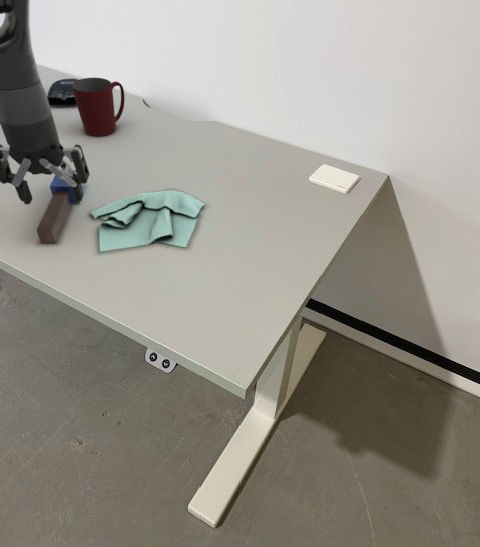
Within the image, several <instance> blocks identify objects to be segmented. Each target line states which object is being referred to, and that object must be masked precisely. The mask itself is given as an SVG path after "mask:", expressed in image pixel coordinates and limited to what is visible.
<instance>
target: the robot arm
mask: <svg viewBox="0 0 480 547" xmlns="http://www.w3.org/2000/svg"><path fill="white" fill-rule="evenodd" d="M30 3H31V2H30V0H0V15H2V14H3V15H4V19H3V22H2V24H1V26H0V127H1V130H2V132H3V136H4V138H5V141H6V143H7V145H8V146H9V147H7V146H6V147H5V146H3V145H2V144H0V183H1V184H3V185H6V184H11V185H12V186H13V187H14V188H15V190H16V193H17V196H18V199H19V200H20V202H23V204H24V205H30V204H31V203H32V201H33V195H32V192H31V190H30V187H29V184H28V181H27V180H25V179H24V178H25V177H26V175H27V173H31V174H32V175H33V176H34V175H35V176H36V175H37V176H38V175H41V174H43V175H49V176H51V175H52V174H53V175H54V176H55V175H56V176H57V177H58V178H59V179H63V180H64V181H66V182H67V183H68V184H69V185H70V190H71V194H72V197H73V201H74V204H73V205H80V203H81V202H82V201H83V198H84V191H83V188H82V187H83V186H82V187H81V184H82V185H86V184H87V183H88V180H89V177H90V176H91V173H90V170H89V166H88V163H87V160H86V157H85V153H84V151H83V147H82V146H81V145H80V144H75V145H74V146H73V147H64V146H63V145H62V144H61V142H60V138H59V134H58V130H57V126H56V122H55V120H54V119H55V118H54V117H53V113H52V108H51V107H50V105H49V101H48V98H47V95H48V94H47V92H46V90H45V87H44V84H43V82H42V79H41V76H40V73H39V70H38V65H37V63H36V59H35V55H34V51H33V45H32V38H31V24H30ZM64 157H66V158H68V160H69V161H70V163H73V165H74V168H75V169H73V168H72V167H71V164H70V163H68V161H67V160H65V159H64ZM9 158H11V159H12V160H13V161H15V162H16V163H17V164H18V165H19V167H18V168H17V171H16V173H13V172H12V169H11V166H10V162H9ZM74 170H76V172H77V173H76V172H75V171H74Z"/></svg>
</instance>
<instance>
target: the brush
mask: <svg viewBox="0 0 480 547" xmlns="http://www.w3.org/2000/svg"><path fill="white" fill-rule="evenodd" d="M73 170H74V171H75V172H76V169H73ZM76 173H77V172H76ZM81 187H82V189H83V188H84V187H83V184H81ZM49 189H50V192H51V196H52V197H51V199H50V200H49V202H48V205H47V207H46V209H45V211H44V213H43V215H42V217H41V219H40V221H39V224H38V226H37V227H36V233H37V236H38V239H39V243H40V244H44V245H47V244H49V245H50V244H51V245H54V244H57V241H58V239H59V236H60V234H61V231H62V229H63V227H64V224H65V222H66V219H67V217H68V215H69V213H70V211H71V207H72V205H75V204H74V201H73V197H72V194H71V190H70V185H69V184H68V183H67V182H66V181H64V180H63V179H59V178H58V177H57V176H56V175H55V174H54V176H53V178H52V181H51V183H50V185H49Z"/></svg>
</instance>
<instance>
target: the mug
mask: <svg viewBox="0 0 480 547" xmlns="http://www.w3.org/2000/svg"><path fill="white" fill-rule="evenodd" d="M115 87H119V89H120V90H119V91H120V104H119V108H118V111H117V114H115V102H114V92H113V90H114V88H115ZM72 89H73V93H74V97H75V100H76V107H77V111H78V112H79V113H78V114H79V116H80V121H81V123H82V126H83V129H84V132H85V134H87V135H88V136H91V137H106V136H109V135H111V134H113V133H114V132H116V123H117V122H118V121H119V120H120V118H121V117H122V114H123V112H124V109H125V90H124V86H123V85H122V84H121V83H120V82H119V81H112V82H111V81H110V80H108V79H107V78H103V77H84V78H79V79H78V80H77V81H75V82H74V83H73V84H72Z"/></svg>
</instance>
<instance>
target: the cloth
mask: <svg viewBox="0 0 480 547" xmlns="http://www.w3.org/2000/svg"><path fill="white" fill-rule="evenodd" d="M205 205H206V204H205V203H204V202H203V201H201V200H199V199H197V197H194V196H192V195H190V194H188V193H185V192H183V191H178V190H176V189H167V190H159V191H156V192H155V191H152V192H142V193H138V194H132V195H130V196H128V197H126V198H121V199H118V200H116V201H114V202H110V203H107V204H104V205H102V206H101V207H100V208H97V209H95V210H93V211H91V215H92V217H93V218H94V219H95V220H96V219H97V218H99V219H101V220H103V221H102V222H101V223H100V224H99V231H98V232H99V238H98V239H99V242H98V243H99V253H103V252H109V251H116V250H124V249H131V248H136V247H137V248H139V247H143V246H149V245H151V244H152V243H153V242H155V243H160V244H166V245H170V246H174V247H175V246H176V247H179V248H183V249H184V248H187V246H188V243H189V242H190V239H191V237H192V234H193V232H194V230H195V227H196V225H197V221H198V220H199V219H198V218H199V213H200V210H201V209H202V208H203V207H204V206H205Z"/></svg>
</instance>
